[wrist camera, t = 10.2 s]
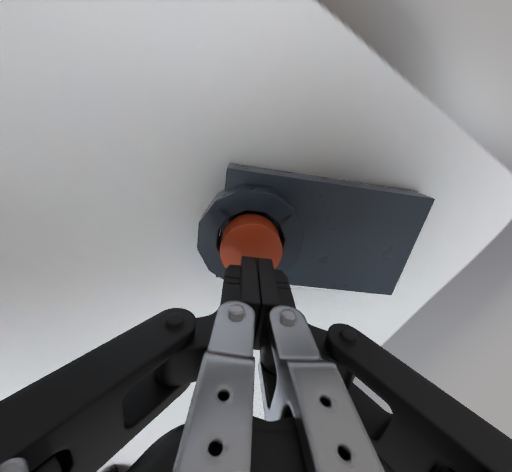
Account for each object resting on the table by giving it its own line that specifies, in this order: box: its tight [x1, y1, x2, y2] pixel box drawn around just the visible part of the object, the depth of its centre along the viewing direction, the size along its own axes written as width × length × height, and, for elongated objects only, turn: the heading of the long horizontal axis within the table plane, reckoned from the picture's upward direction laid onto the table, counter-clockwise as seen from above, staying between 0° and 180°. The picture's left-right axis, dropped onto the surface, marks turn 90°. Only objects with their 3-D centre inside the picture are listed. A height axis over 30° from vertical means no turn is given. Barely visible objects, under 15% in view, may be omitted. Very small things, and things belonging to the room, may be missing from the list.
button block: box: [197, 163, 435, 295], centre depth 18 cm, size 8×15×4 cm, turn 81°
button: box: [220, 214, 282, 269], centre depth 15 cm, size 4×4×2 cm
